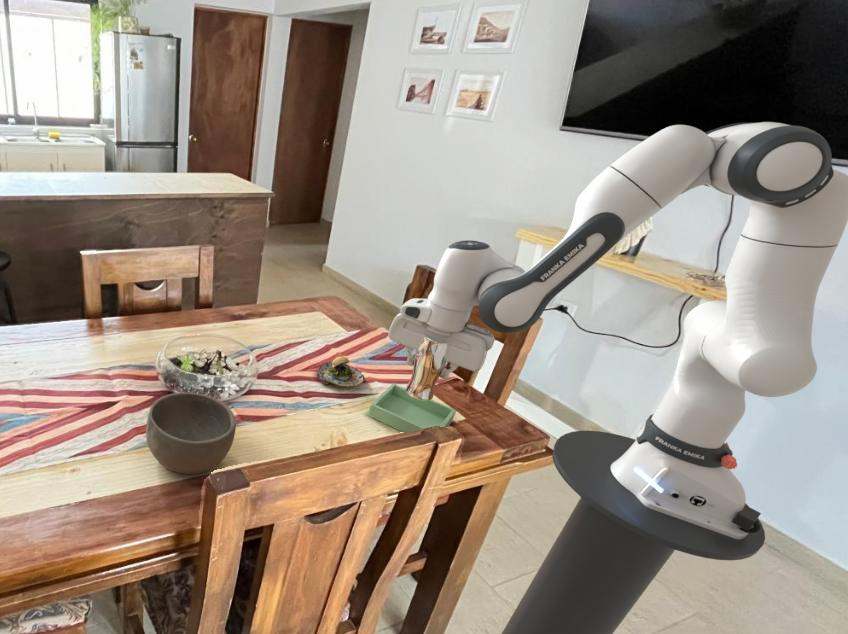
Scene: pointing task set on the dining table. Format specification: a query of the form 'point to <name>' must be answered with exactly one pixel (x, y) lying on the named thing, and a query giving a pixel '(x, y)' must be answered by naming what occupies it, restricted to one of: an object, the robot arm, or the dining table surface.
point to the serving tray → (409, 411)
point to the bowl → (190, 432)
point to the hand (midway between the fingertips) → (426, 370)
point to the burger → (340, 373)
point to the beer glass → (426, 368)
